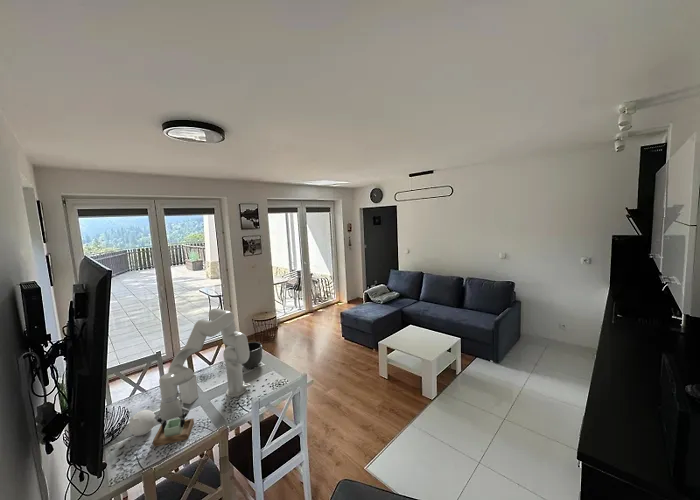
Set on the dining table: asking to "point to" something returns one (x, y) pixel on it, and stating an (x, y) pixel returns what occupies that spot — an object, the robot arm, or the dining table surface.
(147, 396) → the dining table surface
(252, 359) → the planter
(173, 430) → the sage bin
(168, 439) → the walnut crate
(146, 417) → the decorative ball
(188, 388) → the milk carton
